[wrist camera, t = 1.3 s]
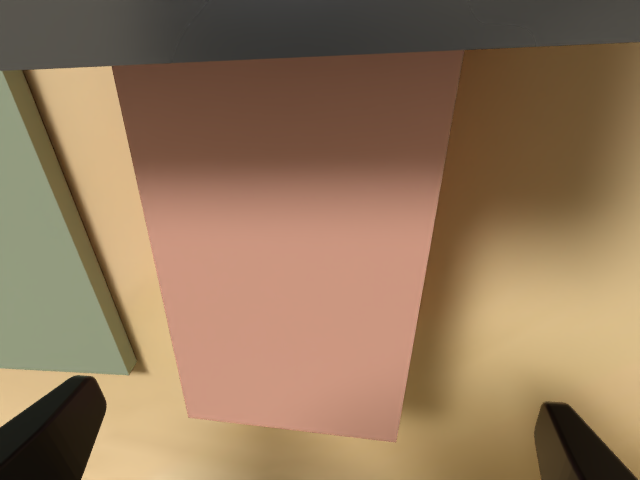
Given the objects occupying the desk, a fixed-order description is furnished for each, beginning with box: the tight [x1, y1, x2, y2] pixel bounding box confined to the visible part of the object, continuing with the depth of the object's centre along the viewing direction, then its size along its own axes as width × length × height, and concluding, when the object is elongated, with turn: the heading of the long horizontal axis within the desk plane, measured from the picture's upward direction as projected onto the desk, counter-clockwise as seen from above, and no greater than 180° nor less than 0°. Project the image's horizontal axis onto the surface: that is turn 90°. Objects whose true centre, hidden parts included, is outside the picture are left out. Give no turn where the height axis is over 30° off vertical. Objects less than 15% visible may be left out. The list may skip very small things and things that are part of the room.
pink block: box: [112, 50, 464, 442], centre depth 9 cm, size 5×13×4 cm, turn 179°
